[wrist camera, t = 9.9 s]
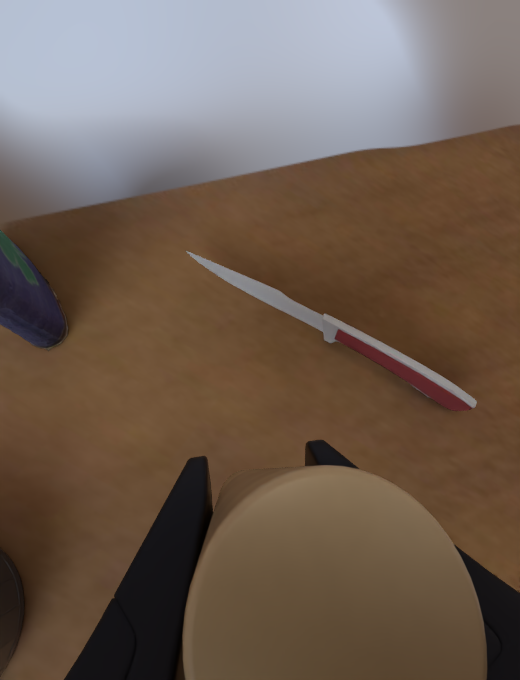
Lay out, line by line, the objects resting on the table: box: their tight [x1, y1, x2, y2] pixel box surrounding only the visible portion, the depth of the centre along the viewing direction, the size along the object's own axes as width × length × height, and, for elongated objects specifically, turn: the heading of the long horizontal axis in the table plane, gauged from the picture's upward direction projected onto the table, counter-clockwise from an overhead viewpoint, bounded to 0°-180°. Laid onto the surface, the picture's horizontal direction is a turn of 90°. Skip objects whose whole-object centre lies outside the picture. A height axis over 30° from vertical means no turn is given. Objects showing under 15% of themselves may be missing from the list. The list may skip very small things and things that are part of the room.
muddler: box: [182, 465, 487, 680], centre depth 9 cm, size 2×2×14 cm
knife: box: [185, 250, 477, 411], centre depth 23 cm, size 20×1×3 cm, turn 62°
